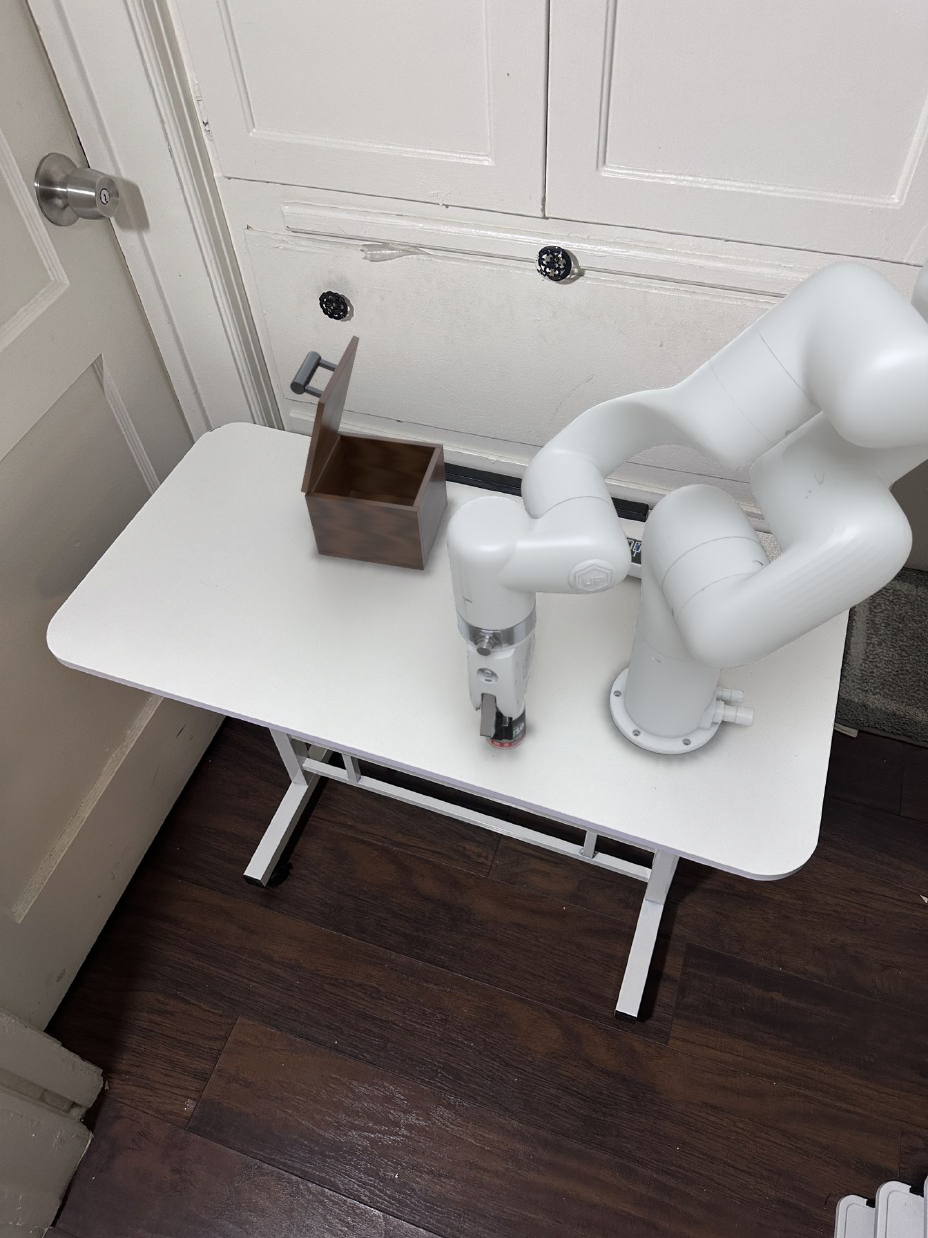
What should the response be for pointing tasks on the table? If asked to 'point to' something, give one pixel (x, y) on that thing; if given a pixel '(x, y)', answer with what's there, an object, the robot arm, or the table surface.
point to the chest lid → (324, 404)
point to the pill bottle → (518, 730)
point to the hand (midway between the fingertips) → (504, 713)
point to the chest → (378, 499)
